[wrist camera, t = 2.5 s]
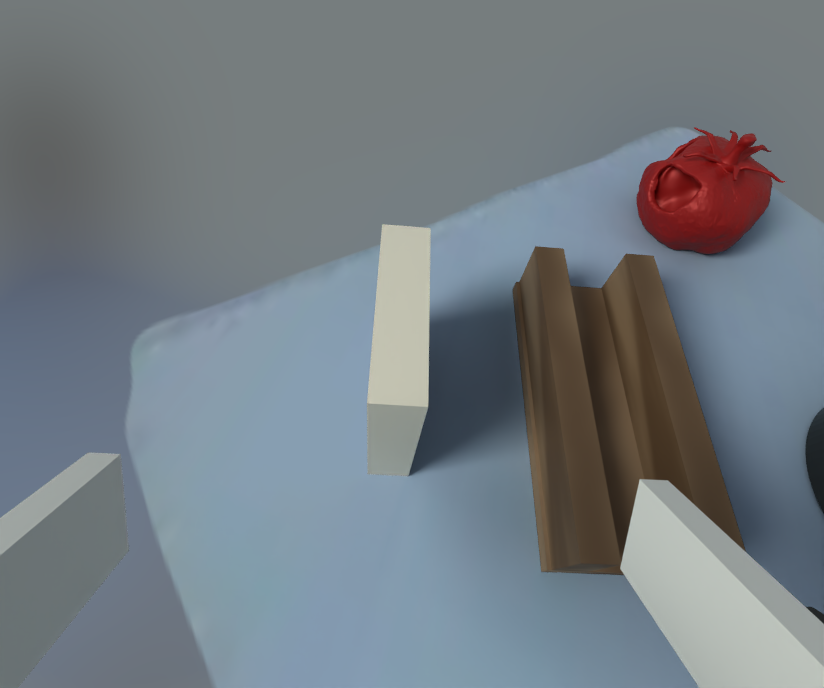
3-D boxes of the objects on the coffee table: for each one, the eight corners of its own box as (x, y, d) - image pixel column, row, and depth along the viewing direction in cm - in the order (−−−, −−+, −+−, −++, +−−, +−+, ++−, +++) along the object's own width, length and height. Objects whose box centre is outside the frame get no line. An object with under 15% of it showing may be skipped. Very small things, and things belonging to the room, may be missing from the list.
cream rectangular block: (412, 337, 33) (430, 228, 24) (408, 476, 28) (428, 406, 19) (378, 335, 33) (382, 224, 24) (367, 474, 28) (366, 403, 19)
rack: (623, 297, 37) (657, 256, 32) (694, 577, 27) (756, 570, 22) (512, 289, 36) (532, 246, 32) (541, 571, 26) (575, 563, 22)
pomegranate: (730, 207, 44) (813, 116, 36) (730, 282, 39) (827, 196, 31) (629, 174, 45) (688, 78, 37) (616, 242, 40) (682, 149, 32)
